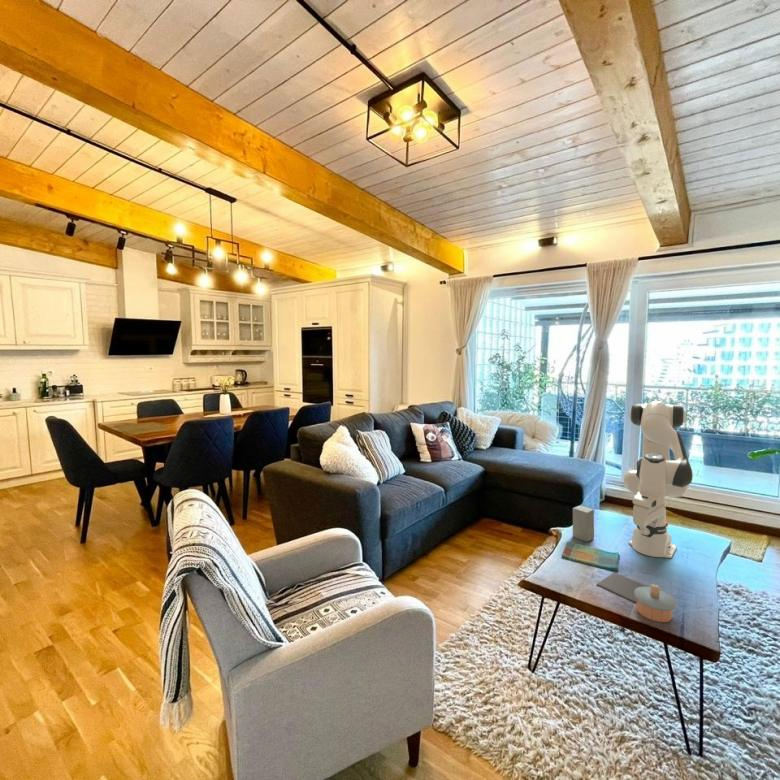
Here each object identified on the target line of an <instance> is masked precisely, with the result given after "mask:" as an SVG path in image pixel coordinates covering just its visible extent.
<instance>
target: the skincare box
mask: <svg viewBox="0 0 780 780" xmlns="http://www.w3.org/2000/svg"><path fill="white" fill-rule="evenodd" d="M572 537H573V538H576V539H579V540H581V541H584V542H586V543H587V542H590V541H592V540H594V539H595V510H594V509H592V508H590V507H586V506H583V505H577V506H574V507H573V508H572Z"/></svg>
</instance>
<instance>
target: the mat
mask: <svg viewBox="0 0 780 780" xmlns="http://www.w3.org/2000/svg"><path fill="white" fill-rule="evenodd" d="M596 586H599V587H601V589H602V588H603V589H604V590H607V591H609V592H610V593H613V594H615V595H617V596H619V597H622V598H624V599H626V600H628V601H629V602H632V603H634V604H636V598H635V596H634V590H635V589H636V588H638V587H649V586H648V585H645V584H643V583H641V582H638V581H636V580H634V579H631V578H628V576H627V577H626V576H624V575H623V574H619V573H618V572H616V571H613V573H611V574H610V575H608V576H607V577H605V578H603V579H602V580H600V581H599V582H597V583H596Z"/></svg>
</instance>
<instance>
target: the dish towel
mask: <svg viewBox="0 0 780 780" xmlns="http://www.w3.org/2000/svg"><path fill="white" fill-rule="evenodd" d="M619 553H620V552H619V551H618V552H613V551H612V552H611V551H608V550H604V549H599V548H595V547H591V546H587V545H583V544H578V543H574V542H570V541H566V544H565V547H564V550H563V552H562V554H561V559H563V560H567V561H570V562H575V563H580V564H584V565H588V566H591V567H595V568H600V569H604V570H607V571H612V572H619V564H620V559H621V558H620V557H621V555H620V554H619Z"/></svg>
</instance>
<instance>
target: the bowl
mask: <svg viewBox="0 0 780 780" xmlns="http://www.w3.org/2000/svg"><path fill="white" fill-rule="evenodd" d="M635 608H636V611H637V612H638V613H639V614H640V615H641V616H643V617H645V618H646V619H649V620H650V621H654V622H658V623H666V622H667V623H668V622H670V621H671V620H672V619H673V610H674V609H672V610H658V609H654V608H651V607H649V606H646V605H644V604H643V603H641V602H640V601H638V600H637V599H636V603H635Z"/></svg>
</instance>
